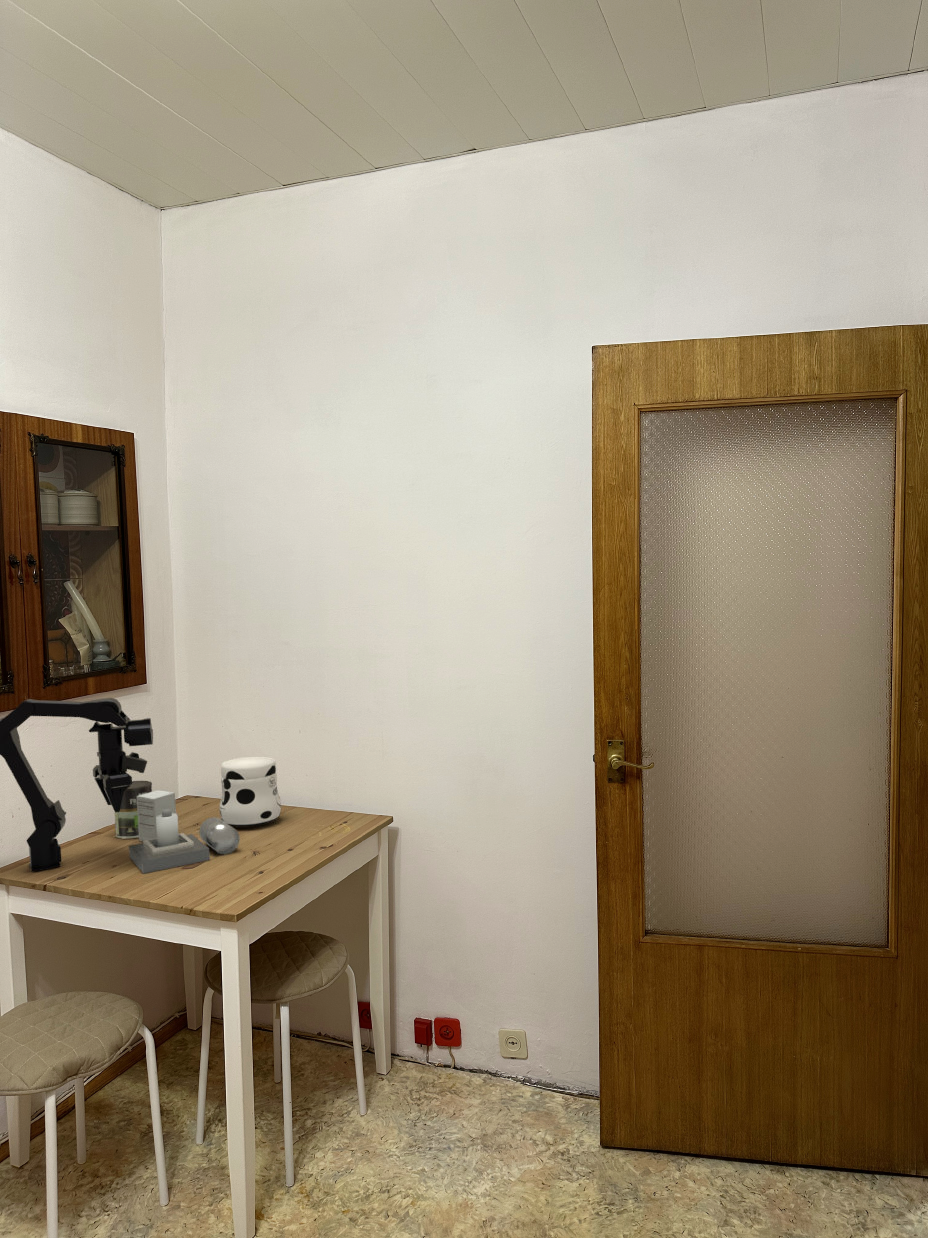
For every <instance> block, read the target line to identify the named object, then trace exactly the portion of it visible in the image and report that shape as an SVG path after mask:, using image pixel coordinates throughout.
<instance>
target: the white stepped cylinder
mask: <svg viewBox="0 0 928 1238" xmlns="http://www.w3.org/2000/svg"><path fill="white" fill-rule="evenodd" d="M156 827H157V847H163V846H169V845H174V844H179V834H180V833H179V818H178V813H177V812H176V813H172V809H164V810H162V814H161V815H158V816H156Z"/></svg>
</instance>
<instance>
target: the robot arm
mask: <svg viewBox="0 0 928 1238" xmlns="http://www.w3.org/2000/svg"><path fill="white" fill-rule="evenodd" d="M30 717H55V718H57V717H58V718H60V717H61V718H82V719H85V720H90V721H92V722H94V724H93V725H92V727H90V729H88V732H89V733H97V746H98V747H97V748H98V749H97V750H98V751H97V752H96V756H97V757H98V764H96V765H95V766H94V767H93V768H92V776H93V778H94V780H95V782H96V783H95V784H96V785H97V787H98V788H99V790H100V792H101V794H102V796H103V798H104V800H105V802H106V804H107V806H111V807H112V810H113V811H114V813H115V812H120V808H121V803H122V798H123V794H124V791H125V790H126V789H127V788H129V787H130V786H131V784H132V781H133V776H131V775H130V774H129V773H128V770H130V771H135V772H138V773H140V774H144V773H145V770H146V767H147V764H148V760H146V759H144V758H143V757H140V756H139V753H137V752H134V751H131V752H130V754H129V755H128V754H127V753H126V751H124V750H123V749H124V748H123V741H124V743H126V745H128V746H129V747H138V746H151V745H153V744H154V729H153V725H152V719H151V718H150V717H149V718H148V717H147V718H142V719H130V717H129V716H128V715H127V714H126V713H125V712H124V711H123V710H122V704H121V702H120V701H119V700H117V698H113V697H106V698H98V699H92V700H86V701H73V700H71V701H70V700H42V699H41V700H39V699H33V698H29V699H25V700H24V701H21V703H20V704H19V705H17V707H16V708H15V709H13V710H12V711H11V712H10V713H8V714H7V715H5V717H2V718H0V756H1V757H2V758H3V759H4V761H5V763H6V765H7V767H8V768H9V770H10V772H11V773H12V776H13V777H14V779H15V781H16V783H17V785H18V787H19V788H20V790H21V792H22V794H23V796H24V798H25V800H26V801H27V803H28V805H29V807H30V810H31V811H30V812H31V817H32V822H33V825H34V828H35V829H34V830H33V831H32V833H31V834H30V835H29V836H28V838H27V839H26V843H27V845H28V849H29V850H28V852H29V854H28V855H29V863H28V867H29V869H30V871H31V872H32V873H33V872H39V871H43V870H49V869H54V868H59V867H61V862H62V849H61V848H62V847H61V844H59V841H58V839H57V838H56V837H57V836H58V835H59V834H60V833H61V831H62V830H63V828H64V827H65V824H66V822H67V821H66V815H67V812H66V811H65V810H64V809H63V807H62V804H61V802H60V800H59V799H58V800H56V801H55V802H54V801H52V800H51V799H50V798H49V797H48V795H47V794H46V792H45V790H44V788H43V786H42V785H41V782H40V780H39V779H38V778H37V776H36V774H35V772H34V769H33V768H32V766H31V764H30V763H29V760H28V758H27V757H26V755H25V753H24V751H23V749H22V745H21V740H20V739H21V738H20V734H19V732H18V728H19V727H20V726H21V725H22V724H23V723H25V722H26V721H27V720H28V719H29V718H30ZM101 723H102V724H101ZM113 725H114V726H113ZM122 732H123V733H122ZM122 734H123V735H122Z"/></svg>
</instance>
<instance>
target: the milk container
mask: <svg viewBox="0 0 928 1238" xmlns="http://www.w3.org/2000/svg"><path fill="white" fill-rule="evenodd" d="M220 765H221V766H220V776H221V778H220V780H221V782H220V783H221V797H220V801H219V816H220V819H221V820H222V821H224V822H225V823H227V824H228V825H230V826H231V827H233V828H234V827H235V828H236V827H237V828H252V827H259V826H264V825H267V824H270V823H272V822H274V821H276V820H277V819H278V818H279V816H280V814H281V810H282V808H281V807H282V802H281V796H280V795H279V790H278V786H277V779H278V777H277V763H276V759H275V758H274V757H270V756H245V757H236V758H232V759H228V760H225V761H222V763H221V764H220Z"/></svg>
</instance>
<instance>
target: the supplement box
mask: <svg viewBox="0 0 928 1238" xmlns="http://www.w3.org/2000/svg"><path fill="white" fill-rule="evenodd" d="M164 809H172V813H176V814H177V811H176V810H177V808H176V792H173V791H166V790H158V789H156V790H152V792H150V793H146V794H143V795H139V796H137V812H138V830H139V838H138V841H139V842H142V841H143V840H148V839H153V838H157V827H156V816H158V815H161V814H162V810H164Z"/></svg>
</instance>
